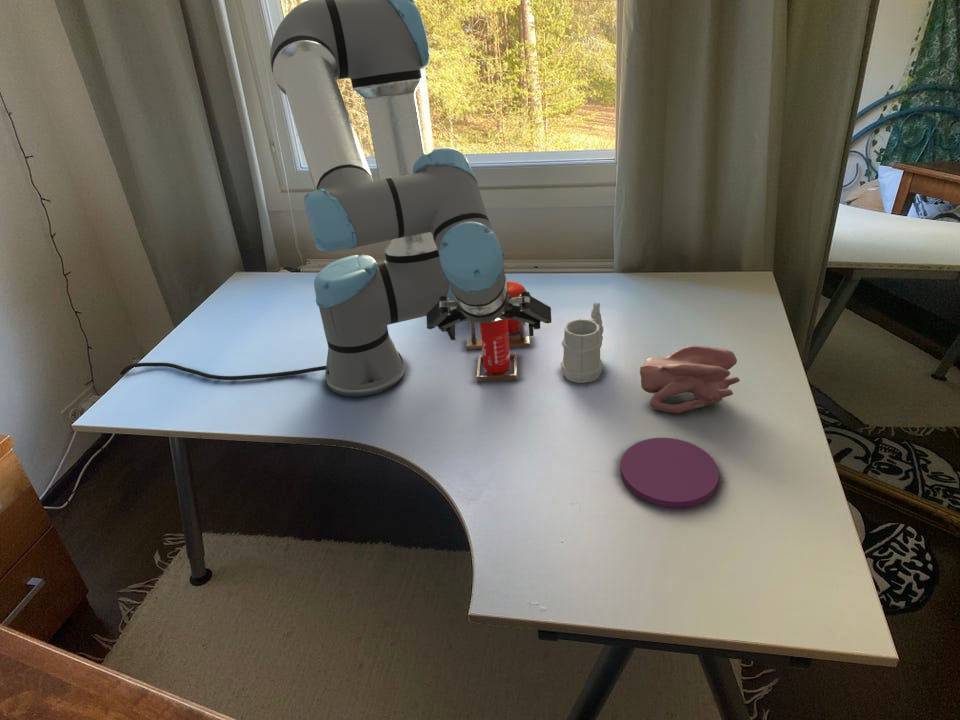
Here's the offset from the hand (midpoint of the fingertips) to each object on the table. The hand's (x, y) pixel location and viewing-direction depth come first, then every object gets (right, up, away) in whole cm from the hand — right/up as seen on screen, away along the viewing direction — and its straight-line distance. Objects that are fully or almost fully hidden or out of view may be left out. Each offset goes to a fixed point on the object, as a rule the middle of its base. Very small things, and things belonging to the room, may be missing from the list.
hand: (492, 330), depth 109 cm
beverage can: (+1, -7, +12) cm, 14 cm away
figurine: (+34, -12, 0) cm, 36 cm away
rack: (+1, -5, +15) cm, 16 cm away
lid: (+26, -22, -16) cm, 38 cm away
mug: (+18, -7, +10) cm, 22 cm away
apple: (+4, +1, +25) cm, 26 cm away
